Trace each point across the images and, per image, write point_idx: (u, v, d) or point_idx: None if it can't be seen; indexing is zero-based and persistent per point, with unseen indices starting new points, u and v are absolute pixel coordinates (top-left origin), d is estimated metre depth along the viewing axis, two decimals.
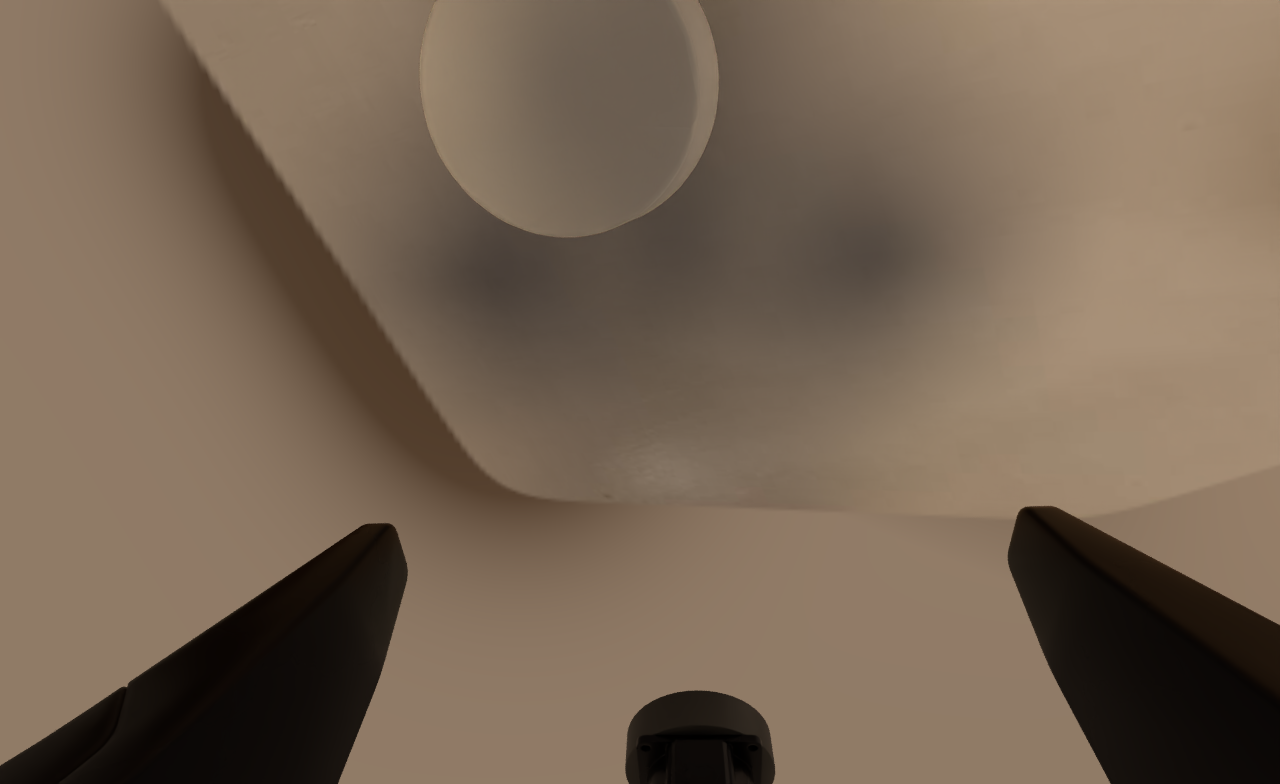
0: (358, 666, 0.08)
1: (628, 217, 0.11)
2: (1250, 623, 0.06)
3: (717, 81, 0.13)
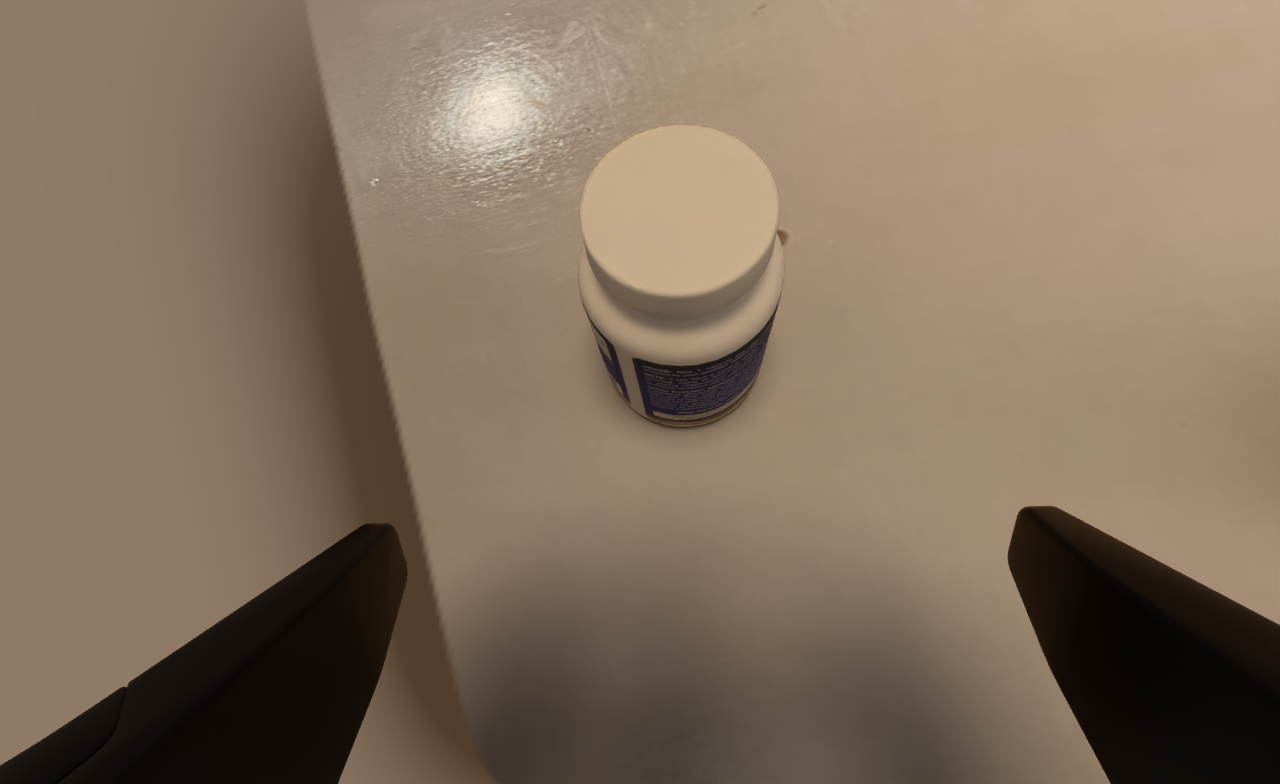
0: (358, 666, 0.08)
1: (722, 283, 0.14)
2: (1250, 623, 0.06)
3: (783, 263, 0.17)
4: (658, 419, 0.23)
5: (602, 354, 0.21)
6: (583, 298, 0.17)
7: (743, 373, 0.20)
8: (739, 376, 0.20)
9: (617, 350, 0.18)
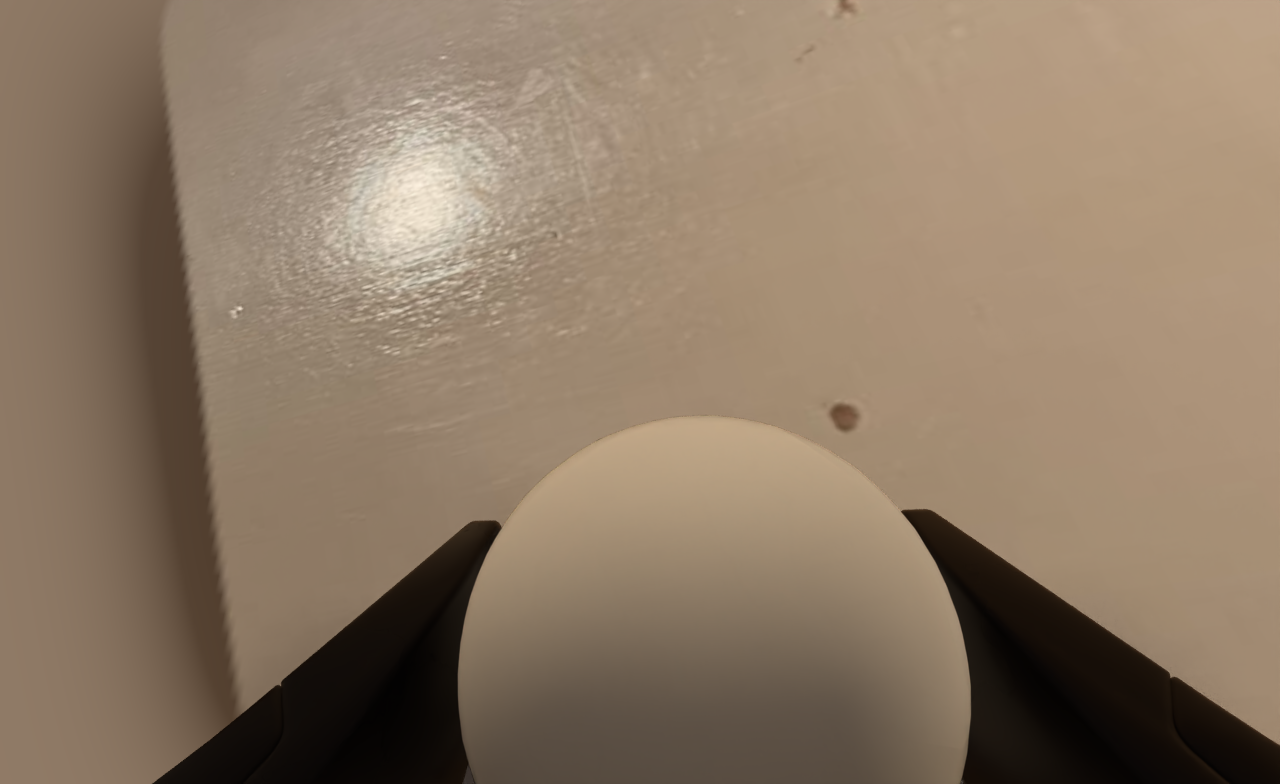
0: None
1: None
2: (1076, 626, 0.06)
3: None
4: None
5: None
6: None
7: None
8: None
9: None
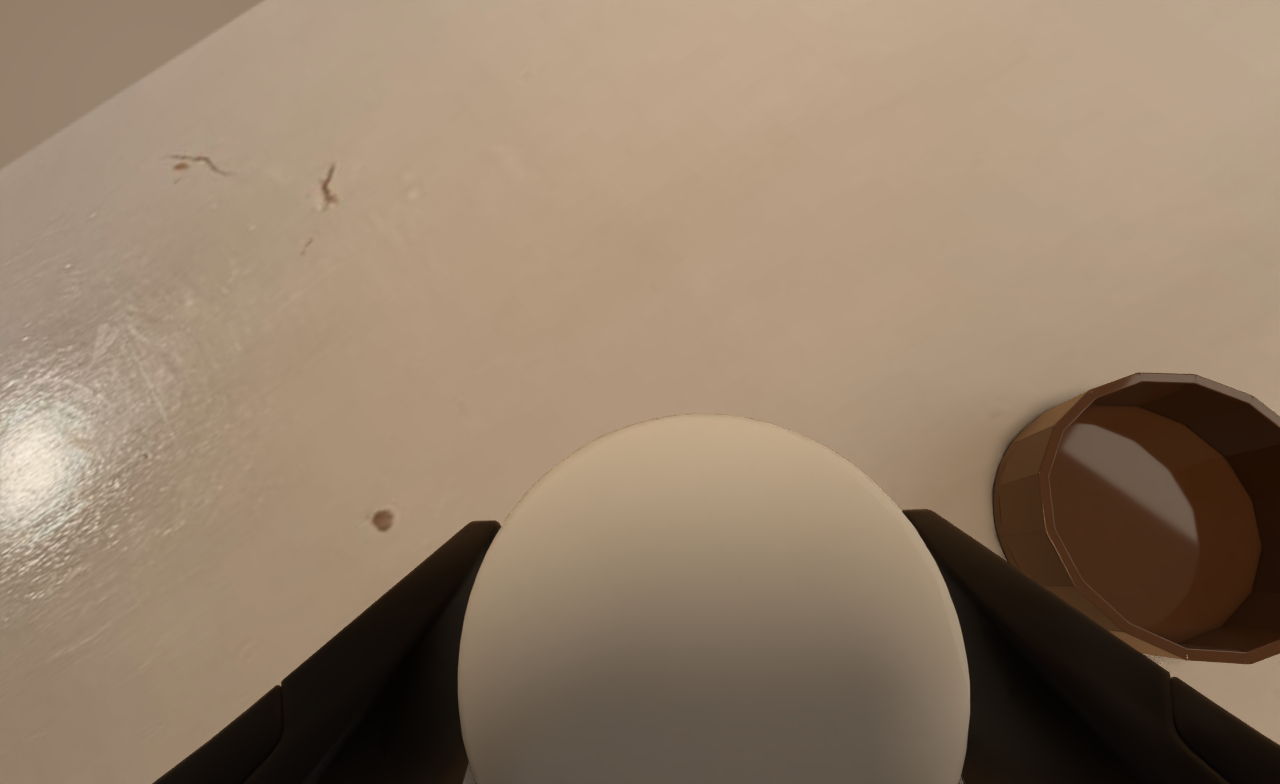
0: None
1: None
2: (1076, 626, 0.06)
3: None
4: None
5: None
6: None
7: None
8: None
9: None
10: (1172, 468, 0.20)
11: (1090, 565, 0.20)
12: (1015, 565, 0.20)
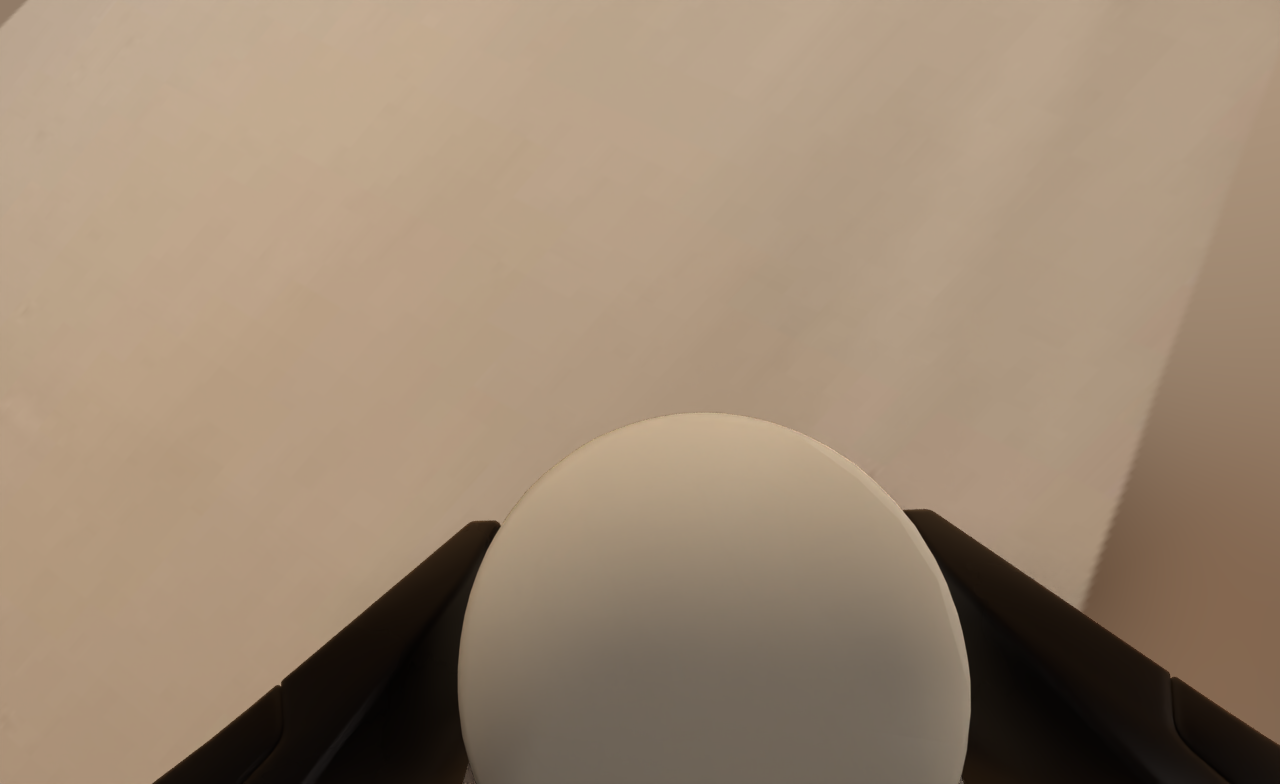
0: None
1: None
2: (1076, 626, 0.06)
3: None
4: None
5: None
6: None
7: None
8: None
9: None
10: None
11: None
12: None
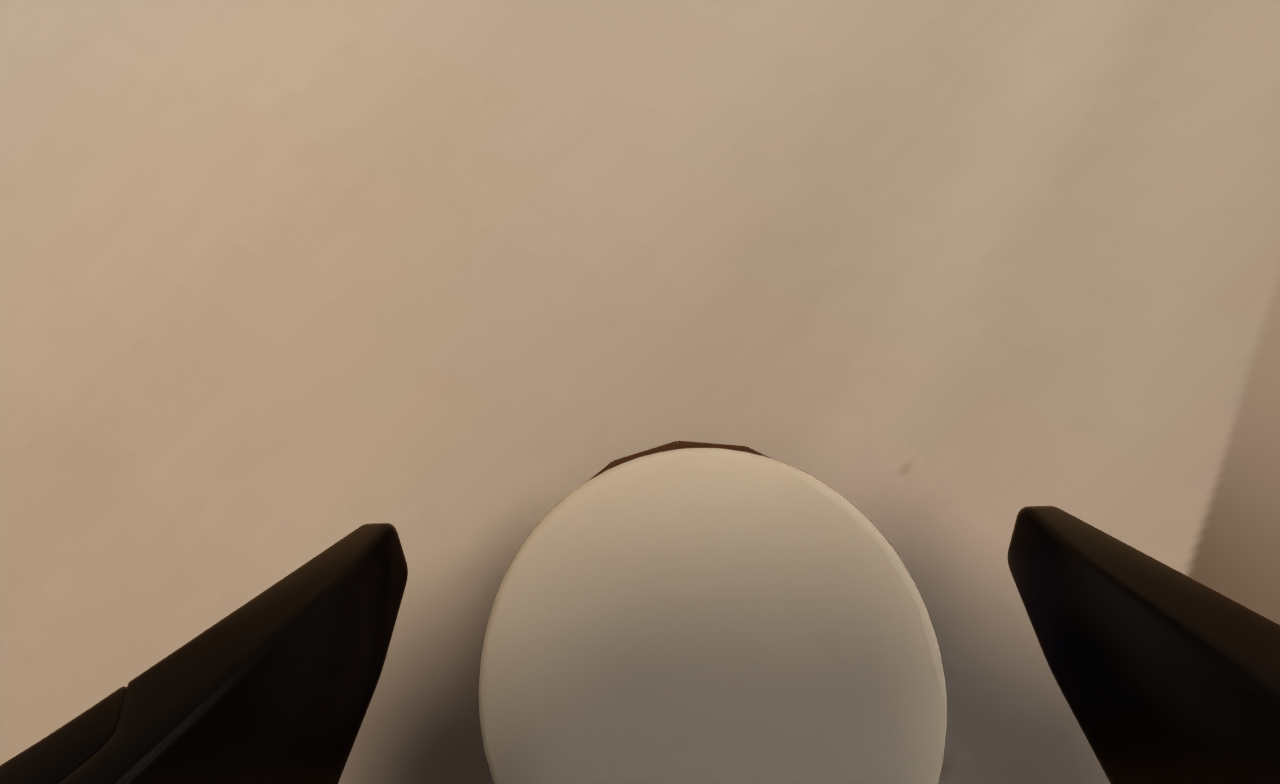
0: (358, 666, 0.08)
1: None
2: (1250, 623, 0.06)
3: None
4: None
5: None
6: None
7: None
8: None
9: None
10: None
11: None
12: None
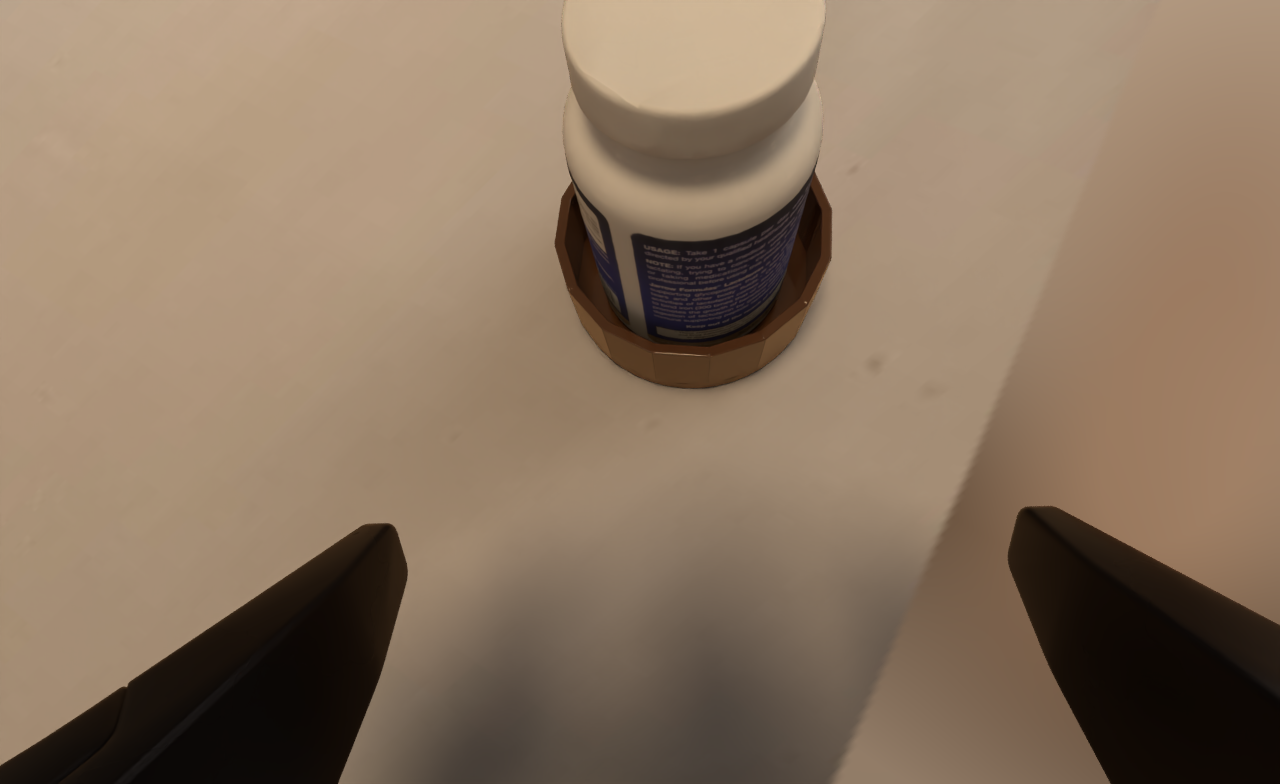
0: (358, 666, 0.08)
1: (751, 98, 0.11)
2: (1250, 623, 0.06)
3: (822, 113, 0.14)
4: (662, 340, 0.19)
5: (595, 252, 0.17)
6: (569, 159, 0.14)
7: (767, 270, 0.16)
8: (762, 273, 0.16)
9: (612, 227, 0.14)
10: None
11: None
12: (600, 347, 0.20)
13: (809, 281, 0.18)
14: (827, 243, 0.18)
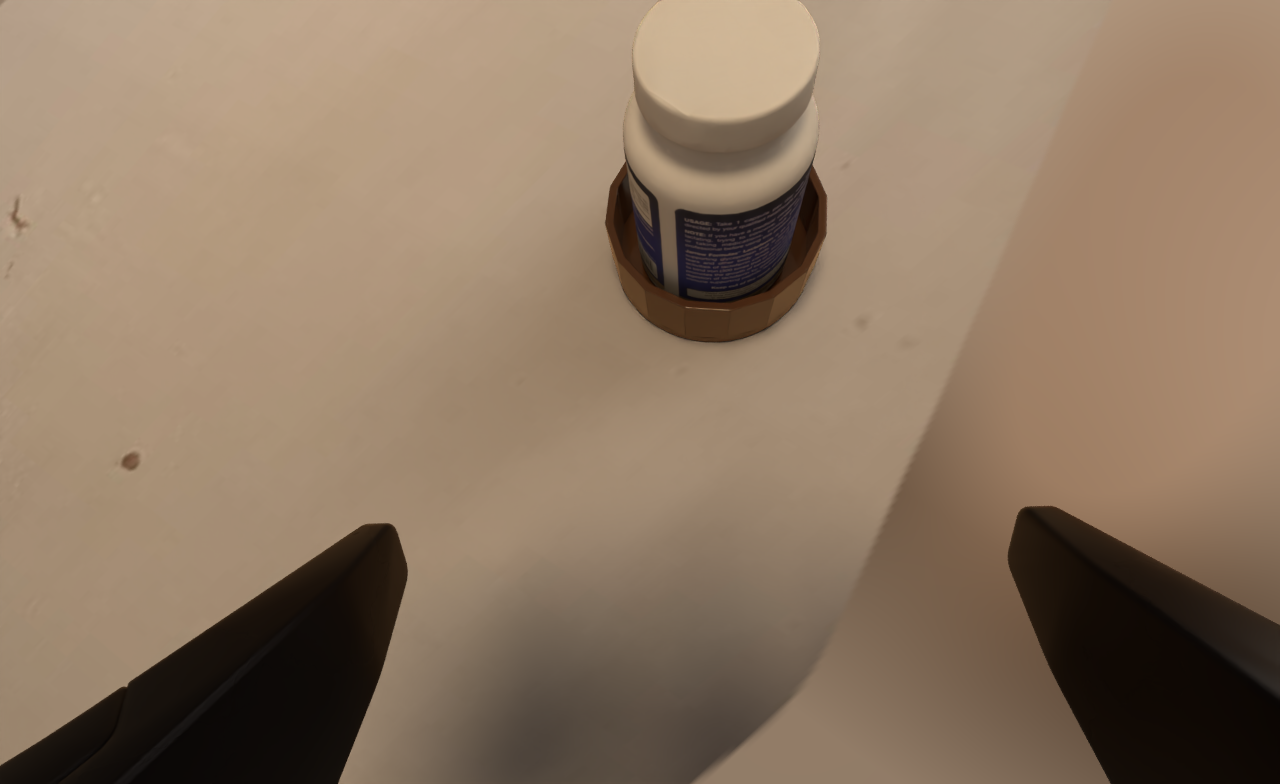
0: (358, 666, 0.08)
1: (768, 109, 0.15)
2: (1250, 623, 0.06)
3: (818, 120, 0.18)
4: None
5: (640, 228, 0.22)
6: (629, 154, 0.18)
7: (776, 240, 0.21)
8: (772, 243, 0.21)
9: (660, 205, 0.19)
10: None
11: None
12: (639, 309, 0.25)
13: (808, 252, 0.22)
14: (823, 222, 0.23)
